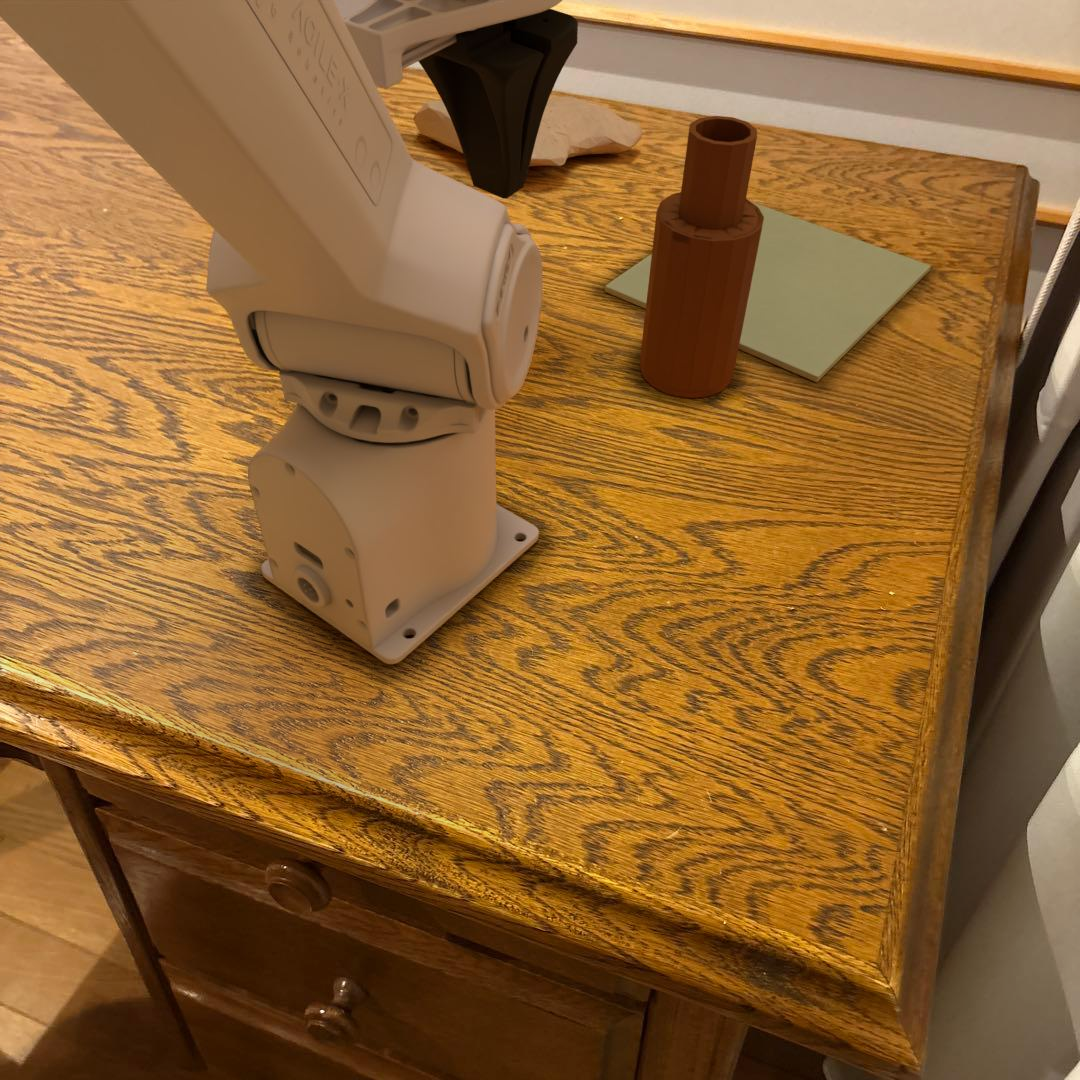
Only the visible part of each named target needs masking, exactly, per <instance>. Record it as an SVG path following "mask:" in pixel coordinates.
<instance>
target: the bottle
mask: <svg viewBox="0 0 1080 1080" xmlns="http://www.w3.org/2000/svg"><path fill="white" fill-rule="evenodd" d="M757 139H758V129H757V128H756V127H755V126H754V125H752V124H751V123H750V122H748V121H746V120H743V119H740V118H737V117H733V116H722V115H711V116H705V117H699V118H697V119H695V120H694V121H692V122H690V124H689V127H688V136H687V144H686V149H685V150H686V151H685V157H684V165H683V173H682V182H681V188H680V189H681V190H680V192H674V193H672V194H670V195H668V196H667V197H665V198H664V199H662V200H661V201H660V203H659V204H658V206H657V209H656V213H655V221H654V230H653V239H652V248H651V254H652V257H651V266H650V275H649V284H648V293H647V302H646V309H645V310H644V311H645V312H644V321H643V330H642V337H641V347H640V357H639V368H640V372H641V375H642V378H644V380H645V381H646V382H647V383H648V384H649V385H650V386H651V387H653V388H654V389H656V390H658V391H660V392H662V393H664V394H667V395H670V396H673V397H680V398H684V399H685V398H688V399H697V398H698V399H699V398H706V397H710V396H712V395H713V396H714V395H716V394H719V393H720V392H722V391H724V390H725V389H726V388H728V386H729V385H730V384H731V382H732V380H733V377H734V373H735V368H736V363H737V358H738V354H739V350H740V349H739V344H740V339H741V334H742V328H743V323H744V318H745V313H746V308H747V303H748V298H749V293H750V288H751V282H752V277H753V272H754V267H755V262H756V257H757V252H758V247H759V242H760V236H761V231H762V226H763V221H764V216H763V214H762V213H761V211H760V209H759V207H757V206H756V205H755V204H753V203H752V202H753V201H751V202H750V200H749V199H747V194H748V189H749V185H750V179H751V173H752V172H751V171H752V168H753V167H752V166H753V161H754V155H755V152H756V151H755V150H756V145H757Z"/></svg>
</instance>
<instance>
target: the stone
mask: <svg viewBox="0 0 1080 1080" xmlns="http://www.w3.org/2000/svg"><path fill="white" fill-rule="evenodd" d="M412 119H413V122H414V124H415V126H416V128H417V129H418V131H419V133H420V135H423V136H425V137H428V138H430V139H431V140H434V141H436V142H438V143H440V144H442V145H445V146H447V147H449V148H451V149H453V150H456V151H457V152H459V153H461V154H463V151H462V148H461V145H460V142H459V139H458V136H457V133H456V131H455V128H454V126H453V123H452V121H451V118H450V116H449V114H448V111H447V109H446V107H445V105H444V103H443V101H442V99H441V100H431V101H428V102H426V103H425V104H424V105H422V107H420V109H419V110H418V111H416V113H415V114H414V116H413V118H412ZM643 135H644V134H643V128H642V126H641V124H639V123H636V122H632V121H629V120H627V119H624V118H622V117H621V116H619V115H618V114H616V113H615V111H614V110H612V109H610V108H609V107H607V106H604V105H600V104H599V103H598V104H597V103H594V102H590V101H588V100H583V99H579V98H576V97H573V96H570V95H569V96H553V97H551V96H550V97H549V99H548V102H547V105H546V107H545V110H544V113H543V116H542V120H541V123H540V127H539V130H538V134H537V137H536V141H535V145H534V149H533V153H532V157H531V161H530V165H529V167H539V166H540V167H541V166H543V167H544V166H546V167H547V166H548V167H549V166H552V167H553V166H554V167H555V166H556V167H560V166H563V165H565V164H566V161H567V159H569V158H573V157H578V156H586V155H605V154H606V155H608V154H621V153H623V152H626V151H628V150H630V149H632V148H633V147H635V146H636V145H637V144H638V143H639V142H640V141H641V139H642V137H643Z"/></svg>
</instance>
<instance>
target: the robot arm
mask: <svg viewBox="0 0 1080 1080" xmlns="http://www.w3.org/2000/svg"><path fill="white" fill-rule="evenodd" d="M562 2H563V0H372V1H371V2H370V3H368V4H367V5H366V6H364V7H363V8H362V9H360V10H359V11H357V12H355V13H353V14H351V15H350V16H347V17H345V18H343V17H342V14H341V13H340V10H339V9H338V6H337V4H336V3H335V0H0V18H1V20H3V21H4V22H5V23H6V24H7V25H8V26H9V27H10V28H11V29H12V30H13V31H14V32H15V33H16V34H17V36H19V37H20V38H21V40H23V41H24V42H25V43H26V44H27V45H28V46H29V48H31V49H32V51H34V52H35V53H36V54H37V55H38V56H39V58H41V59H42V60H43V61H44V62H45V63H46V64H47V65H48V66H49V68H51V69H52V70H53V71H54V72H55V73H56V74H57V75H58V76H59V77H60V78H61V79H62V80H63V81H64V82H65V83H67V85H68V86H69V87H70V88H71V89H72V90H73V91H74V92H75V93H76V94H77V95H78V96H79V97H80V98H81V99H82V100H83V101H84V102H85V103H86V104H88V105H89V107H90V108H91V109H92V110H93V111H94V112H95V113H97V115H98V116H99V117H100V118H102V119H103V121H104V122H106V123H107V125H108V126H109V127H111V129H113V130H114V131H115V132H116V134H117V135H119V136H120V137H121V138H122V139H123V140H124V142H126V143H127V145H129V147H131V149H133V151H135V152H136V153H137V154H138V155H139V156H140V157H141V158H142V159H143V160H144V161H145V162H146V163H147V164H148V165H149V166H150V167H151V169H153V171H155V172H156V173H157V174H158V175H159V176H160V177H161V178H162V179H163V180H164V181H165V182H166V183H167V184H168V186H170V187H171V188H172V189H173V190H174V191H175V192H176V193H177V194H178V195H179V196H180V197H181V198H182V199H183V200H185V202H186V203H187V204H188V205H189V206H190V207H191V208H192V209H193V210H194V211H195V212H196V213H197V214H198V215H199V216H201V217H202V219H203V220H204V221H205V222H206V223H207V224H208V225H209V226H210V227H212V229H213V231H212V235H211V240H210V243H209V244H210V245H209V252H208V262H207V274H206V285H205V289H206V293H207V294H208V295H209V296H210V297H211V298H212V299H213V300H215V301H216V302H217V303H218V304H219V305H220V306H221V307H222V308H223V309H224V310H225V312H226V313H227V315H228V317H229V318H230V321H231V325H232V328H233V330H234V333H235V335H236V337H237V338H238V341H239V344H240V346H241V348H242V350H243V352H244V353H245V355H246V357H247V358H248V359H249V361H251V363H252V364H253V365H255V366H256V367H258V368H259V369H262V370H265V371H271V372H278V374H279V379H280V385H281V389H282V394H283V398H284V400H285V401H288V402H292V403H295V407H294V408H293V410H292V412H291V413H290V414H289V416H288V418H287V419H286V422H285V423H284V424H283V425H282V427H281V428H280V429H279V430H278V431H277V432H276V433H275V434H274V435H273V437H272V438H270V439H269V441H267V442H266V443H265V444H264V445H263V446H262V447H261V448H259V450H257V451H256V453H255V454H253V456H252V457H251V459H250V460H249V463H248V467H247V481H248V486H249V489H250V494H251V497H252V502H253V504H254V509H255V513H256V516H257V521H258V524H259V529H260V532H261V536H262V540H263V544H264V547H265V552H266V555H267V559H266V560H265V561H264V562H262V564H261V566H260V570H261V575H262V576H263V578H264V579H266V580H267V581H269V582H270V583H271V584H273V585H274V586H275V587H276V588H278V589H280V590H281V591H283V592H284V594H287V595H288V596H289V597H291V598H292V599H293V600H295V601H297V602H298V603H299V604H301V605H302V606H304V607H305V608H306V609H308V610H309V611H310V612H312V613H314V614H315V615H316V616H318V617H319V618H320V619H322V620H323V621H325V623H328V624H329V625H331V626H332V627H333V628H334V629H336V630H338V631H339V632H341V633H342V634H343V635H345V636H346V637H347V638H349V639H350V640H352V641H353V642H354V643H356V644H357V645H359V646H360V647H361V648H363V649H364V650H365V651H367V652H368V653H370V654H371V655H373V656H374V657H375V658H377V659H378V660H379V661H381V662H382V663H384V664H386V665H395V664H399V663H400V662H402V661H403V660H404V659H405V658H406V657H408V656H409V655H410V654H411V653H412V652H413V651H414V650H416V649H417V648H418V647H419V646H420V645H421V644H422V643H424V641H426V640H427V639H428V638H429V637H430V636H432V635H433V633H435V632H436V631H437V630H438V629H440V627H442V626H443V625H444V624H445V623H446V622H447V621H448V620H449V619H451V618H452V617H453V616H454V615H455V614H456V613H457V612H458V611H460V610H461V609H462V608H463V607H464V606H465V605H467V604H468V603H469V602H470V601H471V600H472V599H473V598H474V597H475V596H476V595H478V594H479V593H480V592H481V591H482V590H484V589H485V588H486V587H487V586H488V585H489V584H490V583H491V582H493V581H494V580H495V579H496V578H497V577H498V576H499V575H500V574H501V573H502V572H504V571H505V570H507V568H509V566H511V565H512V564H513V563H514V562H515V561H517V559H518V558H520V557H521V556H522V555H523V554H524V553H525V552H527V551H528V550H529V549H530V548H531V547H532V546H533V545H534V544H536V543H537V541H538V540H539V535H540V534H539V533H540V530H539V528H538V527H537V526H536V525H535V524H533V523H531V522H529V521H527V520H526V519H524V518H522V517H520V516H519V515H517V514H515V513H514V512H511V511H510V510H508V509H506V508H505V507H503V506H501V505H500V504H498V503H497V453H496V449H497V448H496V447H497V446H496V445H497V444H496V411H497V410H500V409H502V407H504V406H505V405H506V404H507V403H508V401H510V400H511V399H512V398H514V397H515V396H516V395H517V394H518V393H519V392H520V390H521V388H523V387H522V386H523V385H524V383H525V381H526V378H527V376H528V373H529V369H530V368H531V367H530V366H531V363H532V359H533V356H534V352H535V348H536V343H537V339H538V331H539V326H540V321H541V320H540V319H541V312H542V303H543V288H544V286H543V284H544V276H543V275H544V272H543V271H544V270H543V269H544V268H543V259H542V255H541V250H540V248H539V247H538V244H537V243H536V242H535V240H534V239H533V238H532V234H531V232H530V231H529V229H528V228H527V226H525V225H523V224H522V223H515V222H512V220H511V217H510V215H509V212H508V210H507V207H506V205H505V204H503V203H502V202H500V201H499V200H498V199H496V198H493V197H492V196H490V195H487V194H485V193H483V192H481V191H479V190H477V189H480V190H482V191H484V192H487V193H489V194H491V195H494V196H497V197H498V198H501V199H504V200H505V199H508V198H510V197H511V196H513V195H514V194H516V193H518V192H519V191H521V190H522V189H524V187H525V184H526V180H527V176H528V172H529V169H530V166H529V165H530V161H531V157H532V153H533V149H534V145H535V141H536V137H537V134H538V130H539V127H540V123H541V120H542V116H543V113H544V110H545V107H546V105H547V102H548V99H549V97H551V94H552V92H553V89H554V87H555V85H556V83H557V80H558V78H559V76H560V74H561V72H562V70H563V68H564V66H565V65H566V63H567V61H568V59H569V58H570V56H571V54H572V53H573V51H574V50H575V48H576V46H577V45H578V33H579V32H578V29H579V21H578V20H577V19H576V17H574V16H572V15H570V14H569V13H565V12H562V11H559V10H556V9H553V8H554V7H556V6H558V4H561V3H562ZM416 63H419V65H420V66H421V67H422V69H423V70H424V72H425V74H426V75H427V77H428V78H429V80H430V81H431V84H432V85H433V87H434V88H435V91H436V92H437V93H438V95H439V98H440V99H441V100H442V101H443V103H444V105H445V107H446V109H447V111H448V114H449V116H450V118H451V121H452V123H453V126H454V128H455V131H456V133H457V136H458V139H459V142H460V145H461V148H462V151H463V153H462V154H463V157H464V160H465V164H466V166H467V169H468V173H469V176H470V180H471V182H472V185H473V187H471V186H468V185H467V184H465V183H462V182H460V181H458V180H456V179H454V178H452V177H449V176H448V175H445V174H444V173H441V172H439V171H437V170H435V169H432V168H431V167H428V166H426V165H425V164H423V163H421V162H419V161H418V160H415V159H414V158H412V156H411V154H410V152H409V149H408V147H407V145H406V143H405V141H404V139H403V137H402V135H401V133H400V131H399V129H398V127H397V125H396V123H395V121H394V119H393V118H392V115H391V113H390V110H389V109H388V107H387V105H386V103H385V100H384V99H383V97H382V95H381V93H380V90H379V89H378V87H379V88H382V89H384V90H388V89H389V88H391V87H393V86H395V85H397V84H399V83H401V82H402V81H403V79H404V74H403V70H404V69H406V68H408V67H409V66H412V65H414V64H416ZM474 187H475V188H477V189H475V188H474ZM519 540H520V541H519ZM521 540H522V541H521ZM411 635H412V636H413V637H411V638H408V637H407V636H411Z"/></svg>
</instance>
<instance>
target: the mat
mask: <svg viewBox="0 0 1080 1080" xmlns="http://www.w3.org/2000/svg"><path fill="white" fill-rule="evenodd" d="M749 201H750V200H749ZM750 202H752V203H753V204H755V205H756V206H757V207H759V209H760V211H761V213H762V214H763V216H764V221H763V226H762V231H761V236H760V242H759V247H758V252H757V257H756V262H755V267H754V272H753V277H752V282H751V288H750V293H749V298H748V303H747V308H746V313H745V318H744V323H743V328H742V334H741V339H740V344H739V349H738V350H740V351H742V352H745V353H747V354H749V355H752V356H754V357H756V358H759V359H761V360H763V361H766V362H768V363H770V364H772V365H775V366H777V367H779V368H781V369H784V370H787V371H788V372H791V373H793V374H796V375H798V376H801V377H803V378H805V379H807V380H809V381H812V382H815V383H818V382H819V381H820V380H821V379H822V378H824V376H825V375H826V374H827V373H828V372H829V371H830V370H831V369H832V368H833V367H834V366H835V365H836V364H837V363H838V362H839V361H840V360H841V359H842V358H843V357H844V356H845V355H847V353H848V352H849V351H850V350H851V349H853V347H854V346H855V345H856V344H857V343H858V342H859V341H860V340H861V339H862V338H863V337H864V336H865V335H866V334H868V332H870V330H872V329H873V328H874V326H876V324H878V323H879V321H881V319H883V318H884V317H885V316H886V314H888V313H889V312H890V311H891V310H892V309H893V308H894V307H895V306H896V305H897V304H898V303H899V302H900V301H901V300H902V299H903V298H904V297H905V296H906V295H907V294H908V293H909V292H910V291H911V290H912V289H913V288H914V287H915V286H916V285H917V284H918V283H919V282H920V281H921V280H922V279H923V278H924V277H925V276H927V274H928V273H929V272H930V271H931V267H932V265H931V264H928V263H925V262H923V261H920V260H917V259H914V258H911V257H908V256H905V255H902V254H900V253H898V252H894V251H892V250H889V249H886V248H883V247H881V246H878V245H874V244H871V243H869V242H866V241H863V240H860V239H858V238H855V237H852V236H849V235H847V234H844V233H842V232H838V231H835V230H833V229H829V228H828V227H824V226H822V225H819V224H815V223H813V222H810V221H807V220H805V219H802V218H800V217H796V216H793V215H790V214H787V213H785V212H782V211H779V210H776V209H773V208H770V207H767V206H765V205H762V204H759V203H757V202H754V201H750ZM651 257H652V253H649V254H648V255H647V256H646V257H645V258H643V259H641V260H640V261H638V262H637V263H636V264H635V265H633V266H632V267H630V268H628V269H626V270H625V271H624V272H623V273H621V274H620V275H619V276H617V277H615V278H614V279H613V280H611V281H610V282H608V283H607V284H606V285H605V286H604V292H605V293H608V294H610V295H612V296H614V297H617V298H618V299H621V300H624V301H625V302H628V303H631V304H633V305H636V306H638V307H640V308H642V309H644V310H646V302H647V293H648V284H649V275H650V266H651Z"/></svg>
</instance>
